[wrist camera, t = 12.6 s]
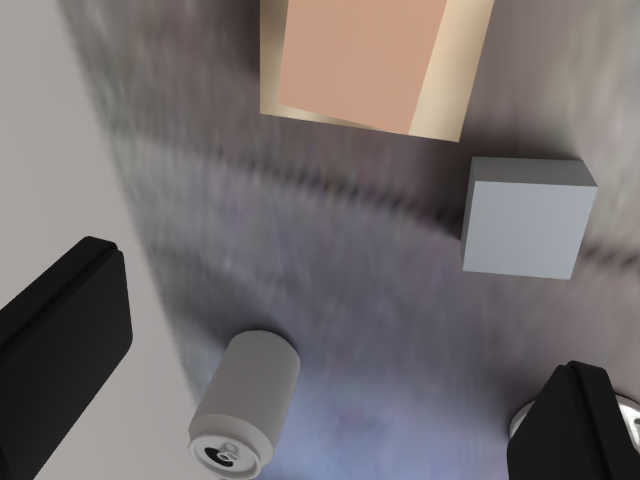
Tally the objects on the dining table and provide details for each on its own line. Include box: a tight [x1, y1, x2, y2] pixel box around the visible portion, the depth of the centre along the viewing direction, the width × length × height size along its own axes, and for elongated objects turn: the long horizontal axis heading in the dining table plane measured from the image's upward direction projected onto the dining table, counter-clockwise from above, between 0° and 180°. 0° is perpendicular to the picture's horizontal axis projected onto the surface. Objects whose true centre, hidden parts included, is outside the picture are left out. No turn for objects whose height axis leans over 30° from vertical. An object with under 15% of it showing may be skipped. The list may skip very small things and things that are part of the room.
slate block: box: [461, 156, 598, 280], centre depth 33 cm, size 7×7×4 cm
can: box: [188, 330, 300, 480], centre depth 44 cm, size 8×8×12 cm
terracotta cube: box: [277, 0, 447, 135], centre depth 22 cm, size 6×6×7 cm
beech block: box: [260, 0, 494, 142], centre depth 27 cm, size 12×12×5 cm
